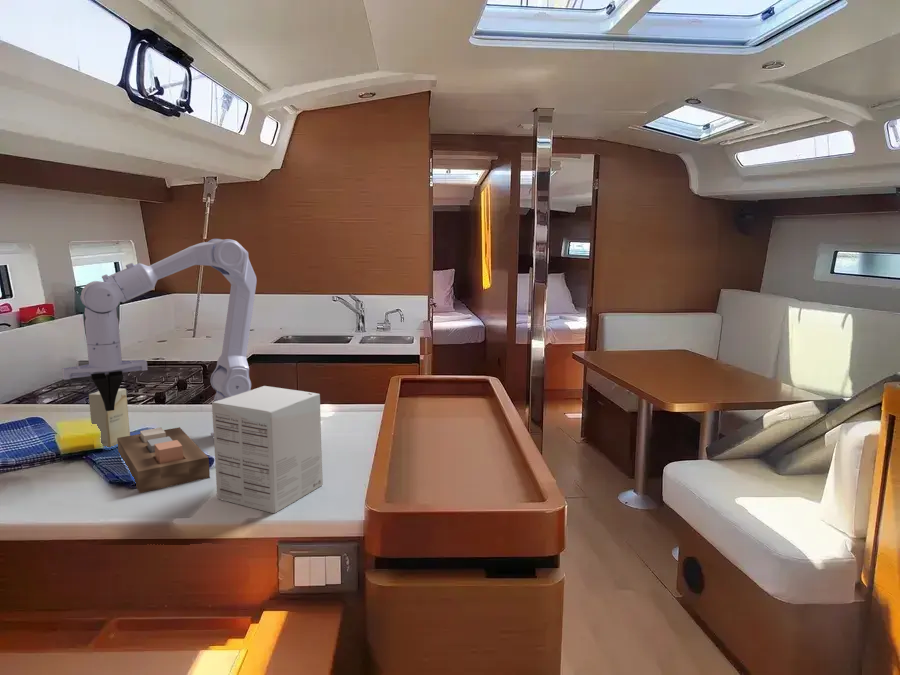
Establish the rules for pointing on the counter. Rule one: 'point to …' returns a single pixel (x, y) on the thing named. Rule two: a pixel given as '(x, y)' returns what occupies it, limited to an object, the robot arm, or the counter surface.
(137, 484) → the console
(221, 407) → the supplement box
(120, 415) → the skincare box
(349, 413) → the counter surface
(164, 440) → the key slate
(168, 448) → the key terracotta
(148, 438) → the key ivory
